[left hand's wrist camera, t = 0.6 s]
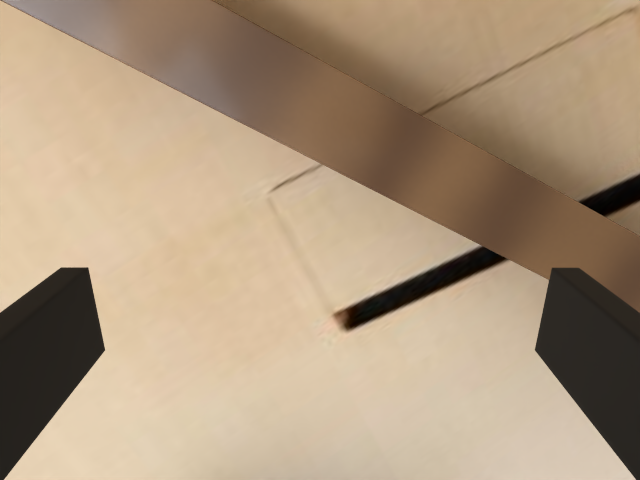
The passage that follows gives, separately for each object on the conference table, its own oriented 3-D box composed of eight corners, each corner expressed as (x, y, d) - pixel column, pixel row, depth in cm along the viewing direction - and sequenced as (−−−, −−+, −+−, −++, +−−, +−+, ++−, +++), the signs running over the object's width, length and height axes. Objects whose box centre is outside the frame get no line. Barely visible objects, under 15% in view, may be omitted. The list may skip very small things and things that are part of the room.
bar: (803, 328, 43) (910, 385, 35) (758, 371, 45) (851, 434, 37) (61, -80, 31) (-26, -132, 23) (41, 0, 33) (-46, -23, 25)
